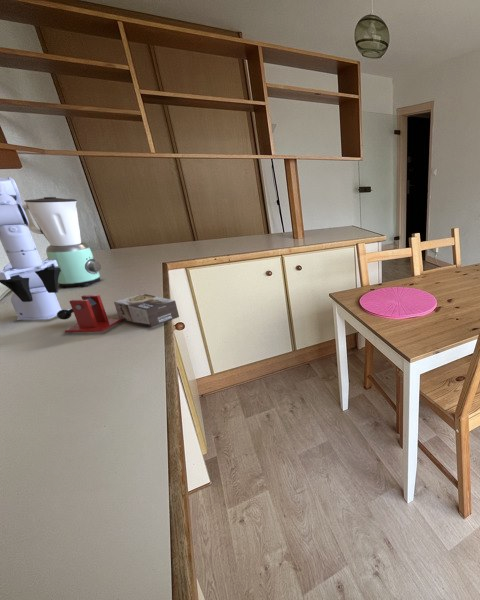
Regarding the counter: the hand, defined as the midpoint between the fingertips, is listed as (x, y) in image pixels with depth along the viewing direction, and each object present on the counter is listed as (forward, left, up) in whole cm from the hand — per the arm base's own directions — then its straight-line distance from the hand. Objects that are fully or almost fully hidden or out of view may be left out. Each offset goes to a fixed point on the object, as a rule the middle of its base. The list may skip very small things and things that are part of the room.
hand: (40, 296), depth 90 cm
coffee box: (+16, +10, -7) cm, 20 cm away
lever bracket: (+11, 0, -10) cm, 15 cm away
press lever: (+8, 0, -5) cm, 10 cm away
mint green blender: (-28, +44, -11) cm, 53 cm away
